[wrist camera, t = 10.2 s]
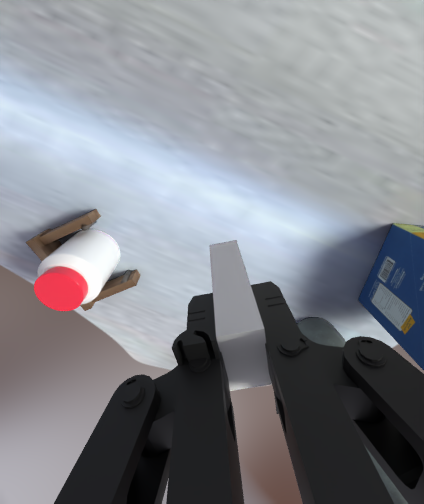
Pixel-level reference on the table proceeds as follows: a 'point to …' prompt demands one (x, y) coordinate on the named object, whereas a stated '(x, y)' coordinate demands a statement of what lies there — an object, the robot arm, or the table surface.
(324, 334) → the grey-green bottle
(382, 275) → the protein box
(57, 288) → the pill bottle
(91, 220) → the dock
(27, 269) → the table surface
